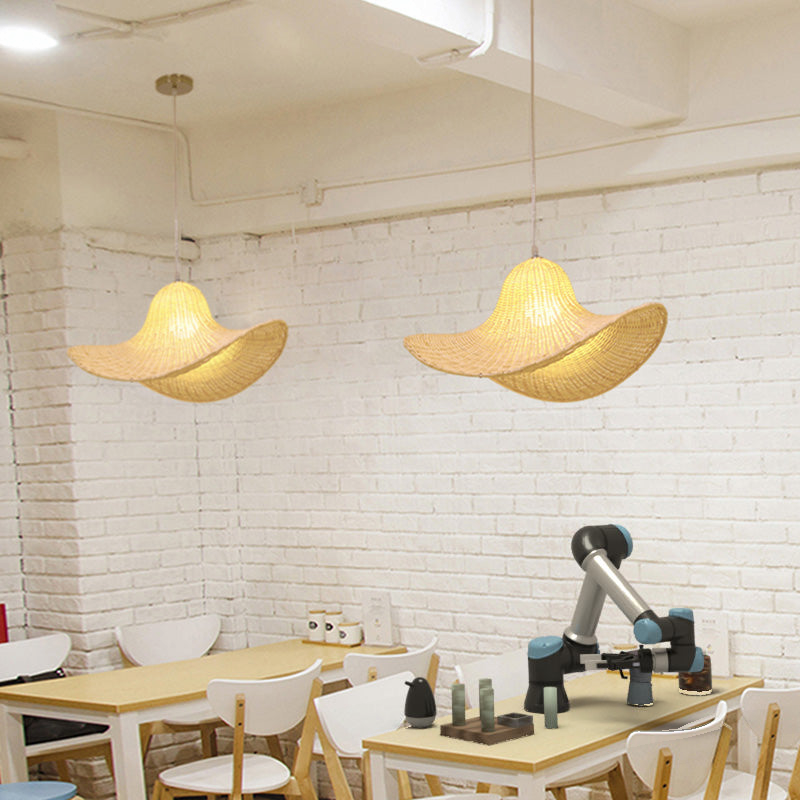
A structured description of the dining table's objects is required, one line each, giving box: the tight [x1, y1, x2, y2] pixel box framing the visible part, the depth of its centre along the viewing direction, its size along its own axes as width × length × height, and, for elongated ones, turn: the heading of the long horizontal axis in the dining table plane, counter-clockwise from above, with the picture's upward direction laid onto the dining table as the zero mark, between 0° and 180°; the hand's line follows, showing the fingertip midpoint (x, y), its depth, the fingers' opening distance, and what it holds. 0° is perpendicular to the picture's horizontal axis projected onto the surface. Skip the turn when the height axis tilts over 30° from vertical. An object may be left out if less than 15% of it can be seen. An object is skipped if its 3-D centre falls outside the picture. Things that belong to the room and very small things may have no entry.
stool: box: [439, 677, 535, 746], centre depth 355 cm, size 20×20×15 cm
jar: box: [677, 648, 713, 692], centre depth 415 cm, size 12×12×15 cm
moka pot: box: [618, 644, 654, 705], centre depth 396 cm, size 10×15×20 cm, turn 105°
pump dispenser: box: [403, 676, 438, 729], centre depth 369 cm, size 10×10×15 cm
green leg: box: [543, 687, 559, 729], centre depth 363 cm, size 4×4×12 cm
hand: (582, 662), depth 363 cm, fingers open, 13 cm apart
